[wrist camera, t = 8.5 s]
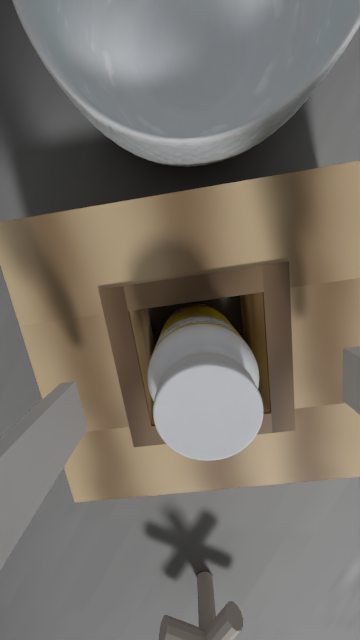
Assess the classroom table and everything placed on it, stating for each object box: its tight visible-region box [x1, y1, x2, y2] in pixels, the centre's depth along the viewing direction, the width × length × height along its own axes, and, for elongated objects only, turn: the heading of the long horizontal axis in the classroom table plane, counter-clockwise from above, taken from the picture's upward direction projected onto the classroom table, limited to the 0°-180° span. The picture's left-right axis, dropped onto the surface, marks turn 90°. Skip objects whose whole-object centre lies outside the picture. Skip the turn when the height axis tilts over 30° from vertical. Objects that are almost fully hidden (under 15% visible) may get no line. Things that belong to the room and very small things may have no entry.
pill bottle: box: [147, 304, 263, 461], centre depth 15 cm, size 6×6×11 cm
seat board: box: [0, 161, 360, 503], centre depth 17 cm, size 22×20×6 cm
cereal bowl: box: [12, 0, 360, 167], centre depth 12 cm, size 17×17×7 cm
